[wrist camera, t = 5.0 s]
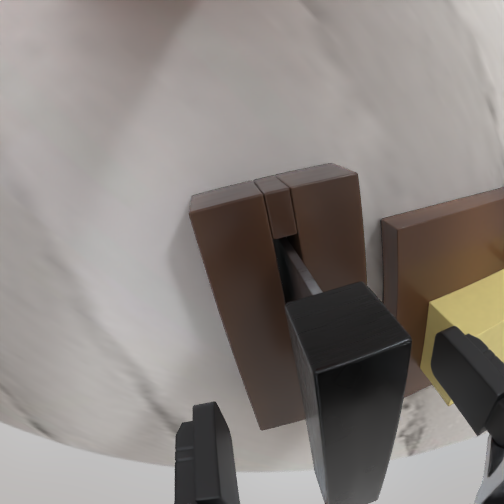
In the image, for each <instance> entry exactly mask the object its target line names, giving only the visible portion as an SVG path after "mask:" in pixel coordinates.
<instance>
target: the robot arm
mask: <svg viewBox="0 0 504 504" xmlns="http://www.w3.org/2000/svg"><path fill="white" fill-rule="evenodd" d="M431 370H432V373H433V375H434V377H435V378H436V379H437V381H438V382H439V383H440V385H441V386H442V387H443V389H444V390H445V391H446V393H447V394H448V395H449V397H450V398H451V400H452V401H453V402H454V404H455V405H456V406H457V408H458V409H459V411H460V412H461V413H462V415H463V416H464V418H465V419H466V420H467V422H468V423H469V425H470V426H471V427H472V429H473V430H474V432H475V433H476V435H477V436H478V435H480V434H481V433H483V432H484V431H486V430H487V431H488V432H489V437H488V442H487V452H486V461H485V468H484V476H483V481H482V484H481V487H480V489H479V491H478V493H477V496H476V499H475V503H474V504H504V363H503V362H502V361H501V360H500V359H499V358H498V357H497V356H495V354H494V353H493V352H492V351H491V350H489V349H488V347H487V346H486V345H485V344H484V343H483V342H482V341H481V340H480V339H479V338H477V337H475V336H473V335H471V334H469V333H468V334H466V335H465V334H464V333H463V332H462V331H461V330H460V329H459V328H458V327H456V326H451V327H449V328H447V329H445V330H443V331H440V332H438V333H437V334H436V336H435V340H434V346H433V352H432V357H431ZM175 449H176V452H175V460H176V462H175V503H174V504H240V501H239V494H238V486H237V478H236V471H235V463H234V454H233V446H232V439H231V434H230V431H229V428H228V425H227V423H226V421H225V419H224V417H223V415H222V413H221V411H220V409H219V407H218V405H217V403H216V402H209V403H204V404H199V405H194V406H193V421H190V422H184V423H182V424H181V426H180V428H179V430H178V432H177V434H176V444H175Z"/></svg>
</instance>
